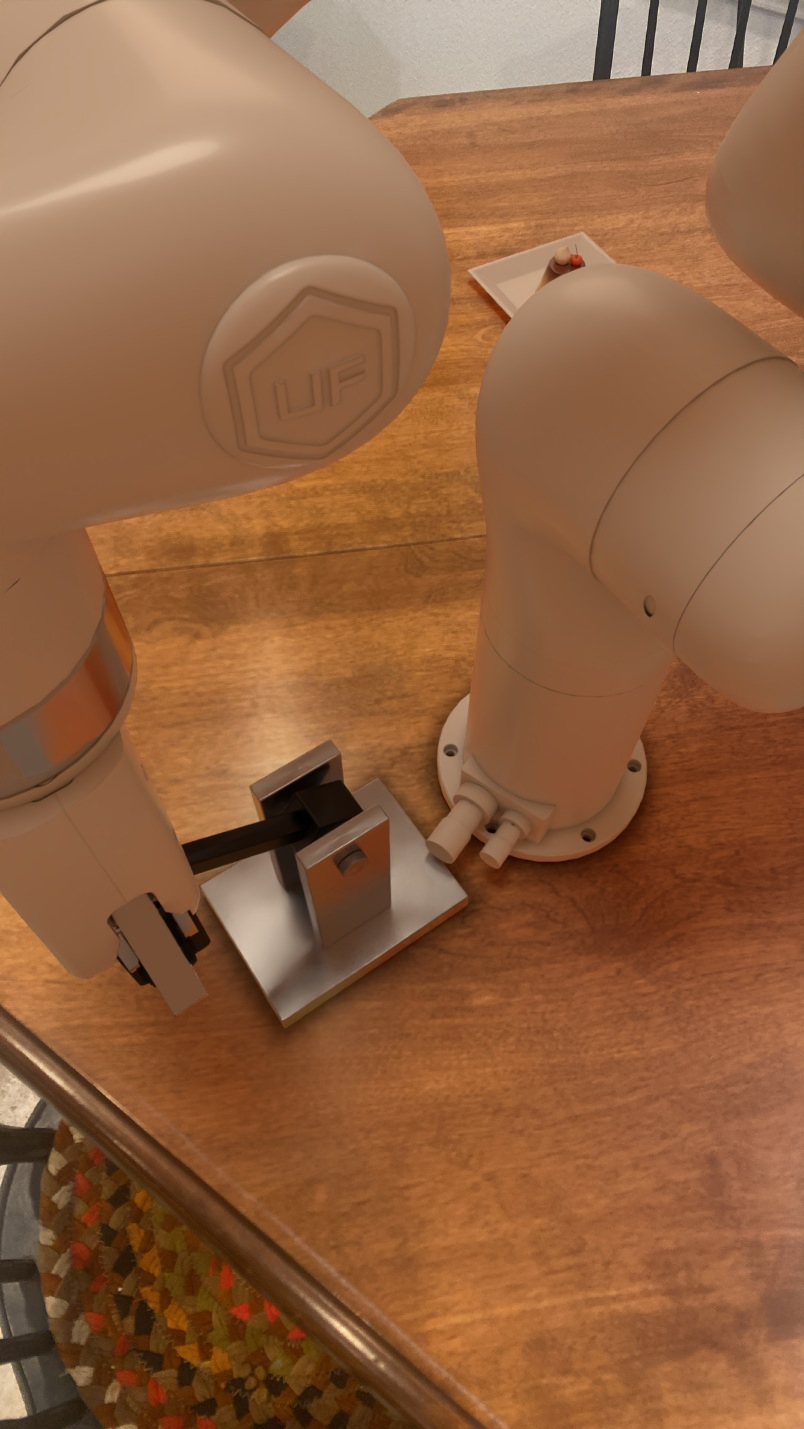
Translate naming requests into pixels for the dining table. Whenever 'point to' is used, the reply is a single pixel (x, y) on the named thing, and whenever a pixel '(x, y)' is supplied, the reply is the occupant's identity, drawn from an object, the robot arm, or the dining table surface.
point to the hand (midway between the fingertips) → (141, 901)
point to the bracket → (330, 892)
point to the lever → (277, 828)
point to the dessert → (536, 269)
